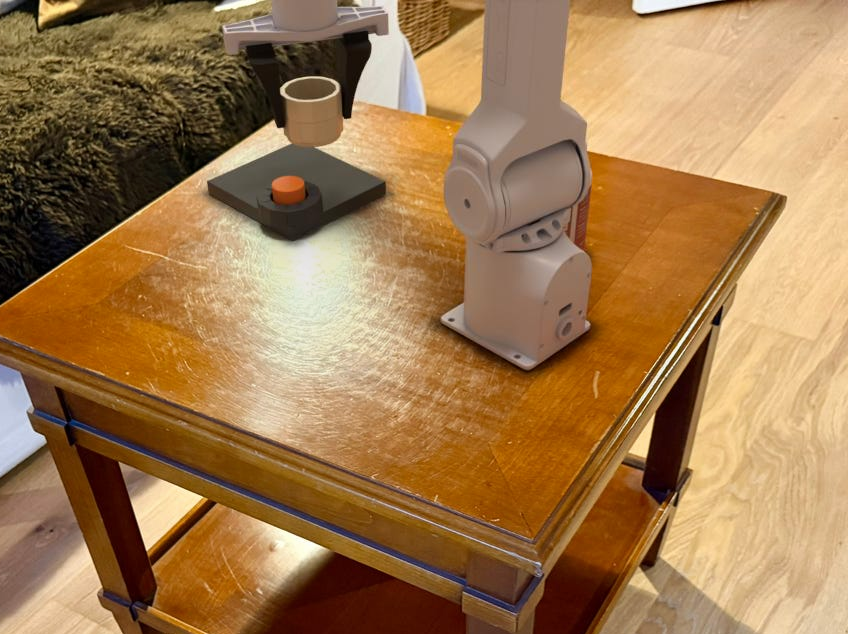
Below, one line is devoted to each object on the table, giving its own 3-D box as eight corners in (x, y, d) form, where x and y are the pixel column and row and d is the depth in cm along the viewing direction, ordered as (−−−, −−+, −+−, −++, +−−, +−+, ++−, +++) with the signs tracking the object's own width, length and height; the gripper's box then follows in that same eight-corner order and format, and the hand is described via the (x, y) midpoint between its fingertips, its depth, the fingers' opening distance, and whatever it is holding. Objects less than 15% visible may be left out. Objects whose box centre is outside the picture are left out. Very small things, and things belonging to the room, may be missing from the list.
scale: (389, 195, 99) (389, 167, 97) (288, 247, 93) (285, 218, 91) (300, 152, 106) (297, 125, 104) (200, 197, 100) (196, 169, 98)
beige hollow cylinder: (356, 133, 96) (353, 87, 93) (310, 154, 93) (306, 107, 90) (317, 116, 99) (313, 71, 96) (271, 136, 96) (267, 90, 93)
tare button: (312, 198, 94) (311, 182, 93) (287, 210, 92) (285, 194, 91) (291, 187, 95) (289, 172, 94) (266, 199, 94) (264, 183, 93)
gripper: (373, -58, 90) (378, 91, 99) (210, -39, 88) (230, 111, 97) (393, -33, 85) (396, 122, 94) (220, -13, 83) (241, 143, 92)
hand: (313, 119), depth 95 cm, fingers closed on beige hollow cylinder, 6 cm apart
